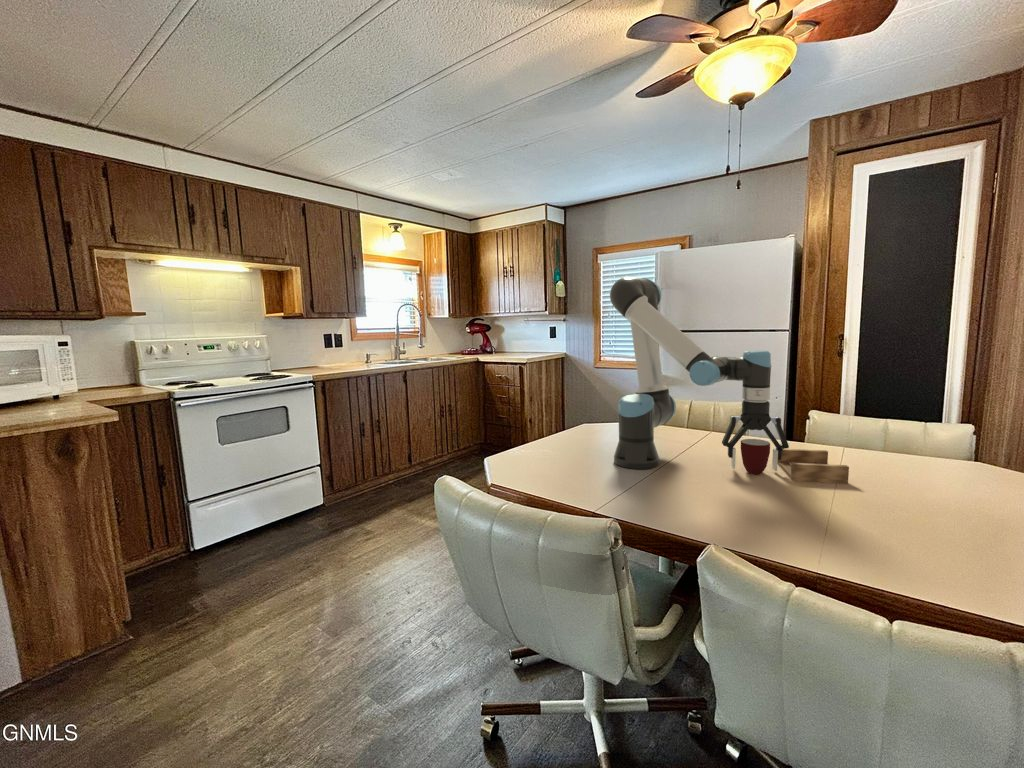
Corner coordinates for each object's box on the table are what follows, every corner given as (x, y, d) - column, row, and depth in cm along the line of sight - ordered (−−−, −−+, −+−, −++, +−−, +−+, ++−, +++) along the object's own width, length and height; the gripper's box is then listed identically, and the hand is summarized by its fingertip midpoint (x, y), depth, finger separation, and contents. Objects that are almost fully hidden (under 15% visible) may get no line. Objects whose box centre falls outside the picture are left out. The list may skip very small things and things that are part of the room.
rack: (792, 480, 130) (793, 464, 129) (776, 463, 146) (777, 448, 146) (848, 483, 126) (849, 466, 125) (825, 465, 142) (826, 450, 141)
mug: (736, 465, 145) (737, 436, 144) (764, 467, 143) (765, 437, 141) (742, 476, 135) (743, 444, 134) (772, 478, 133) (773, 446, 131)
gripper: (716, 402, 136) (714, 469, 139) (803, 402, 129) (800, 474, 132) (712, 398, 143) (711, 462, 146) (795, 398, 136) (792, 466, 139)
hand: (753, 468), depth 139 cm, fingers open, 11 cm apart
